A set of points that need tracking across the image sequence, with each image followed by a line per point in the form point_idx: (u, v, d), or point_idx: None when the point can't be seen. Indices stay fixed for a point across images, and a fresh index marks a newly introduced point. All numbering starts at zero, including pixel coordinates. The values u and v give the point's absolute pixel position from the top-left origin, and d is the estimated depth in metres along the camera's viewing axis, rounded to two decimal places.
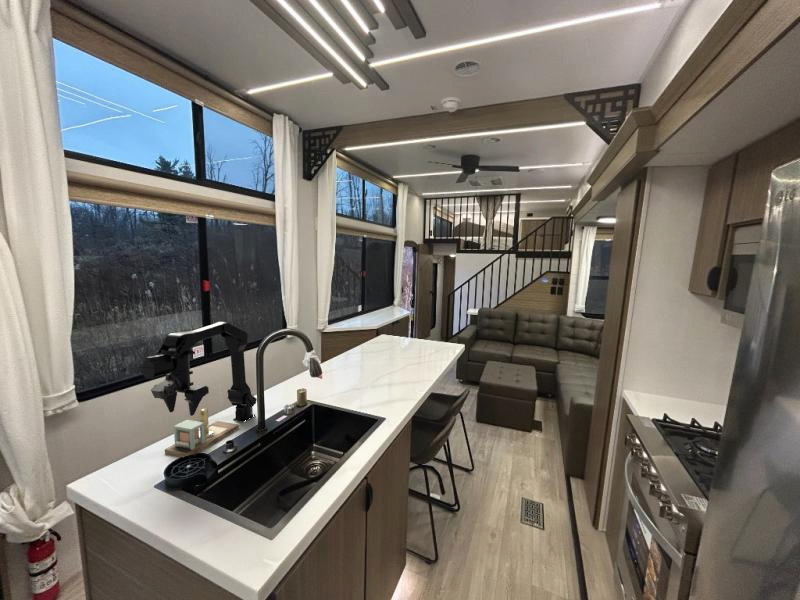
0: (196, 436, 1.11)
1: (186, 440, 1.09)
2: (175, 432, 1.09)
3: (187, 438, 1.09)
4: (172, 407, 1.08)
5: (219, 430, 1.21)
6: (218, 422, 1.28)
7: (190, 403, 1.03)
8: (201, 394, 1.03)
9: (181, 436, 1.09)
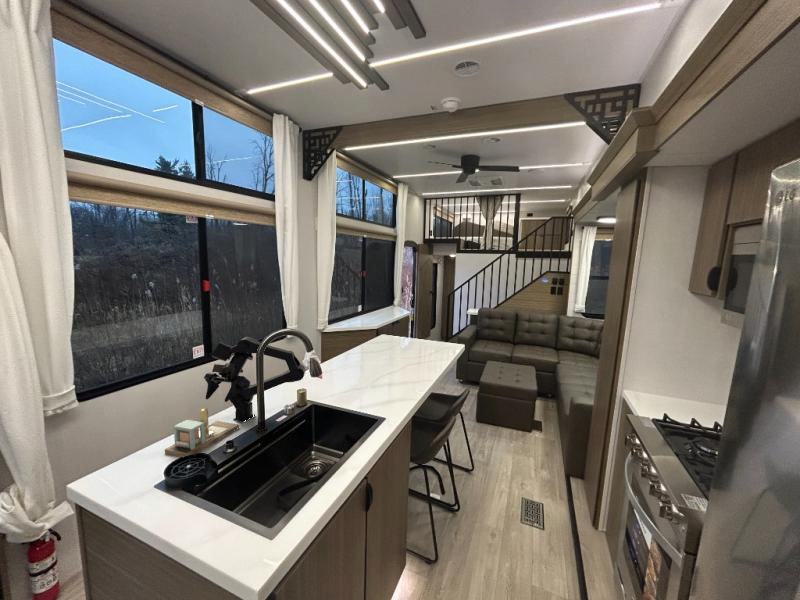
0: (196, 436, 1.11)
1: (186, 440, 1.09)
2: (175, 432, 1.09)
3: (187, 438, 1.09)
4: (209, 395, 1.23)
5: (219, 430, 1.21)
6: (218, 422, 1.28)
7: (232, 388, 1.22)
8: (245, 383, 1.23)
9: (181, 436, 1.09)
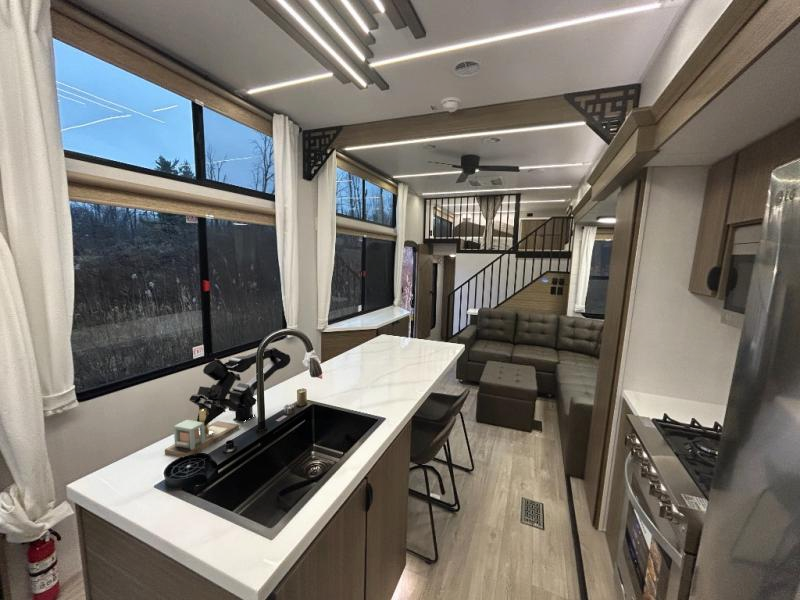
0: (196, 436, 1.11)
1: (186, 440, 1.09)
2: (175, 432, 1.09)
3: (187, 438, 1.09)
4: None
5: (219, 430, 1.21)
6: (218, 422, 1.28)
7: (212, 411, 1.16)
8: (232, 406, 1.17)
9: (181, 436, 1.09)
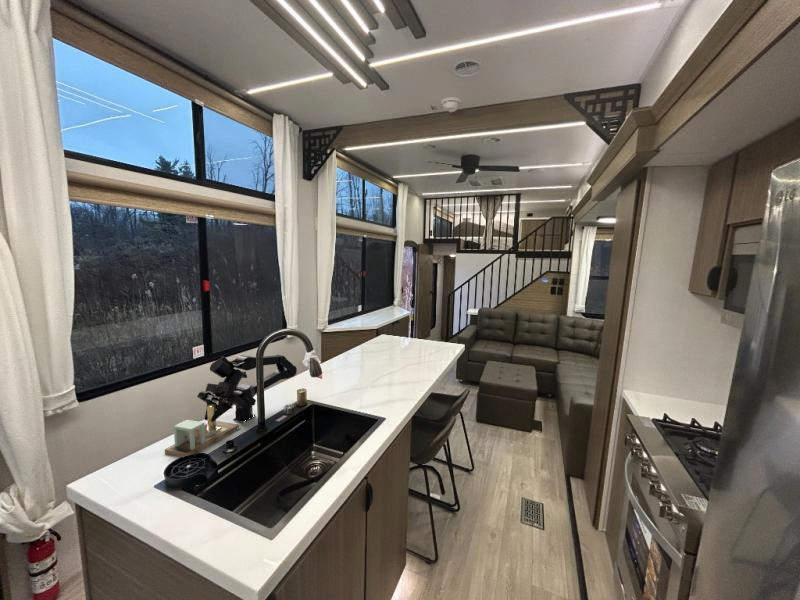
0: (204, 431, 1.15)
1: (195, 435, 1.12)
2: (175, 432, 1.09)
3: (196, 433, 1.12)
4: None
5: None
6: (218, 422, 1.28)
7: (219, 407, 1.20)
8: (239, 403, 1.21)
9: None
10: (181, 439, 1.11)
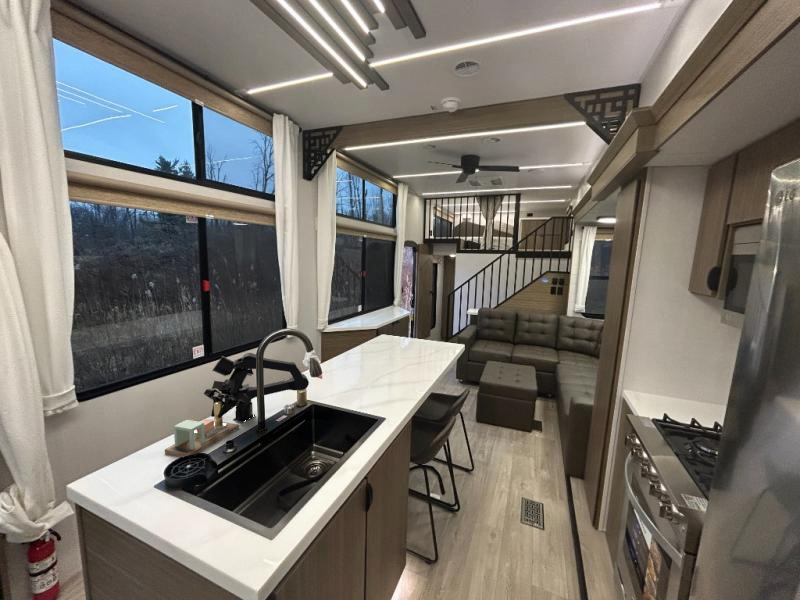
0: (211, 428, 1.18)
1: None
2: (175, 432, 1.09)
3: None
4: None
5: None
6: None
7: (225, 404, 1.23)
8: (244, 400, 1.24)
9: None
10: (181, 439, 1.11)
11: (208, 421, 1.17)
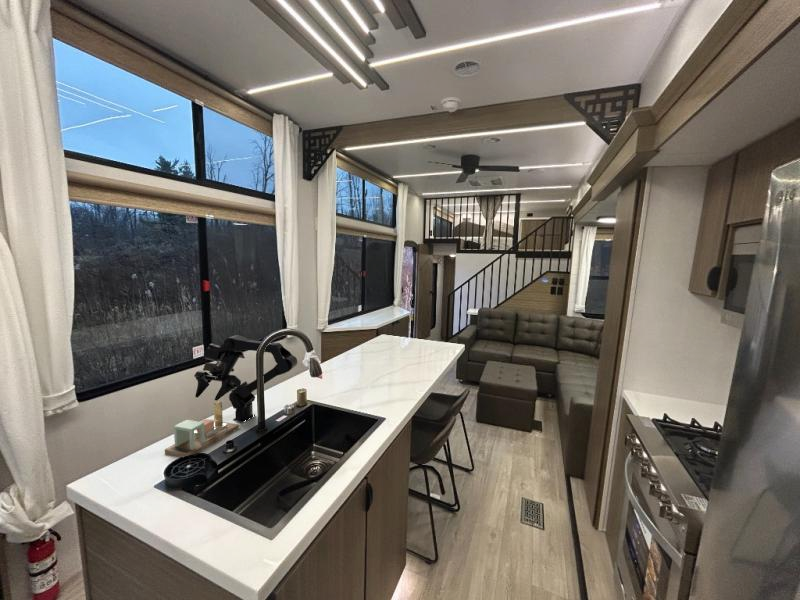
0: (211, 428, 1.18)
1: None
2: (175, 432, 1.09)
3: None
4: (199, 393, 1.24)
5: None
6: None
7: (223, 387, 1.22)
8: (236, 382, 1.24)
9: None
10: (181, 439, 1.11)
11: (208, 421, 1.17)
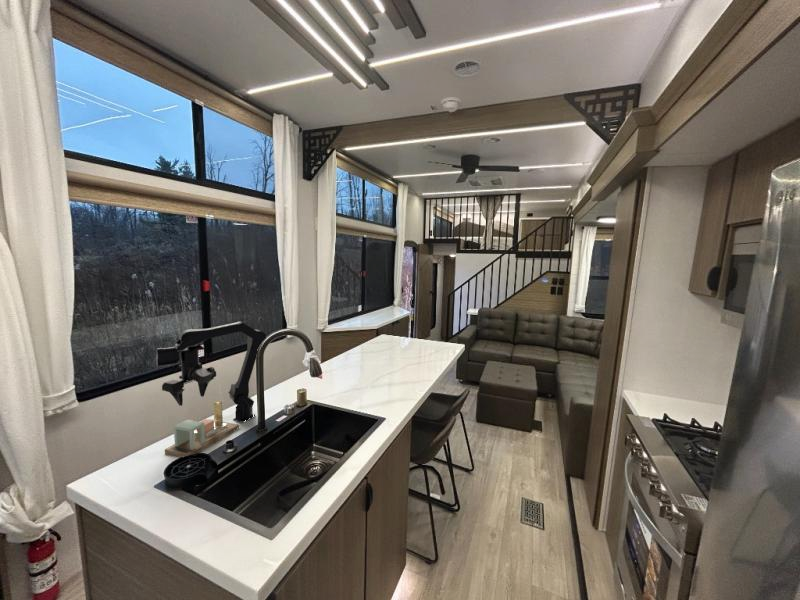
0: (211, 428, 1.18)
1: None
2: (175, 432, 1.09)
3: None
4: None
5: None
6: None
7: (207, 383, 1.26)
8: None
9: None
10: (181, 439, 1.11)
11: (208, 421, 1.17)
